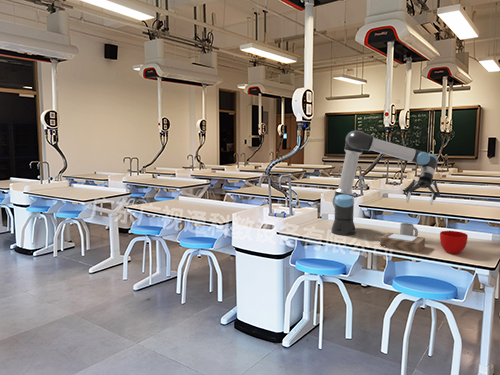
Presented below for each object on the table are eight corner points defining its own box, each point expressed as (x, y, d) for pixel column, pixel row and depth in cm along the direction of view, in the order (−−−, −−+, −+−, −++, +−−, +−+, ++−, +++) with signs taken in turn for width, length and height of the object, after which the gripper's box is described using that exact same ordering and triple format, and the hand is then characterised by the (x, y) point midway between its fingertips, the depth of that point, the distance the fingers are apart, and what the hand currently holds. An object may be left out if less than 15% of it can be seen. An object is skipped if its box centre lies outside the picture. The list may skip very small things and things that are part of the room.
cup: (402, 236, 241) (402, 222, 240) (419, 239, 235) (420, 224, 233) (398, 239, 235) (398, 224, 234) (415, 242, 229) (416, 227, 228)
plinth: (379, 246, 221) (380, 237, 221) (388, 240, 232) (388, 231, 232) (417, 252, 209) (418, 242, 209) (424, 246, 220) (425, 237, 220)
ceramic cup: (455, 246, 220) (456, 229, 218) (471, 256, 203) (472, 237, 202) (431, 246, 220) (432, 229, 219) (445, 256, 203) (446, 237, 202)
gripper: (449, 180, 243) (442, 208, 233) (407, 178, 258) (399, 204, 249) (447, 172, 238) (440, 200, 229) (405, 170, 254) (396, 197, 244)
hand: (418, 202), depth 239 cm, fingers open, 13 cm apart
